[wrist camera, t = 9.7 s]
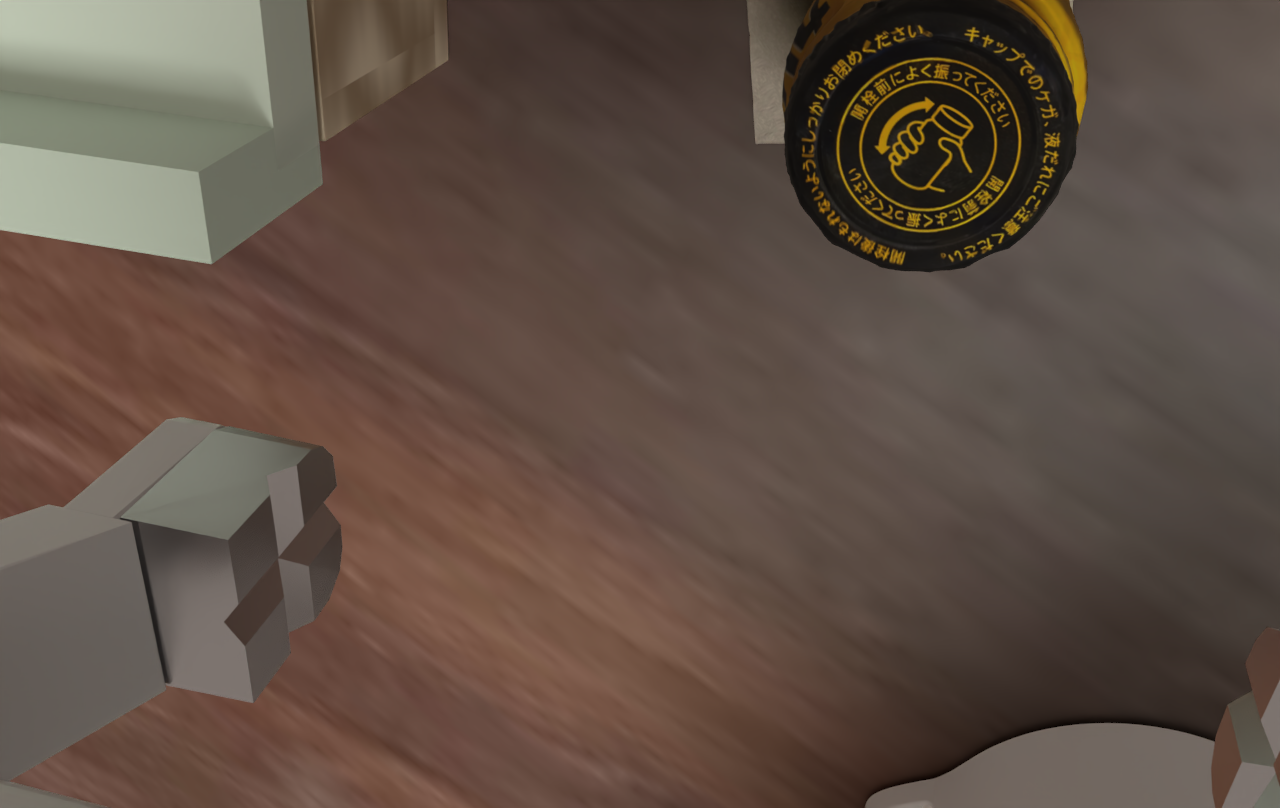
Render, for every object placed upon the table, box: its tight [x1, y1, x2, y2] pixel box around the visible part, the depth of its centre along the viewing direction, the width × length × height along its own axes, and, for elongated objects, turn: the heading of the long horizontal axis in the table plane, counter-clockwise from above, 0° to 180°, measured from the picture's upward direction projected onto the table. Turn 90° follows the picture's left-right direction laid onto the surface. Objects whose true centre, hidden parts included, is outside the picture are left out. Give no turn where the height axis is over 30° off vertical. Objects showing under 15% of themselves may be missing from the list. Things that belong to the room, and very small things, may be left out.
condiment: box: [747, 0, 1088, 272], centre depth 26 cm, size 7×8×12 cm
